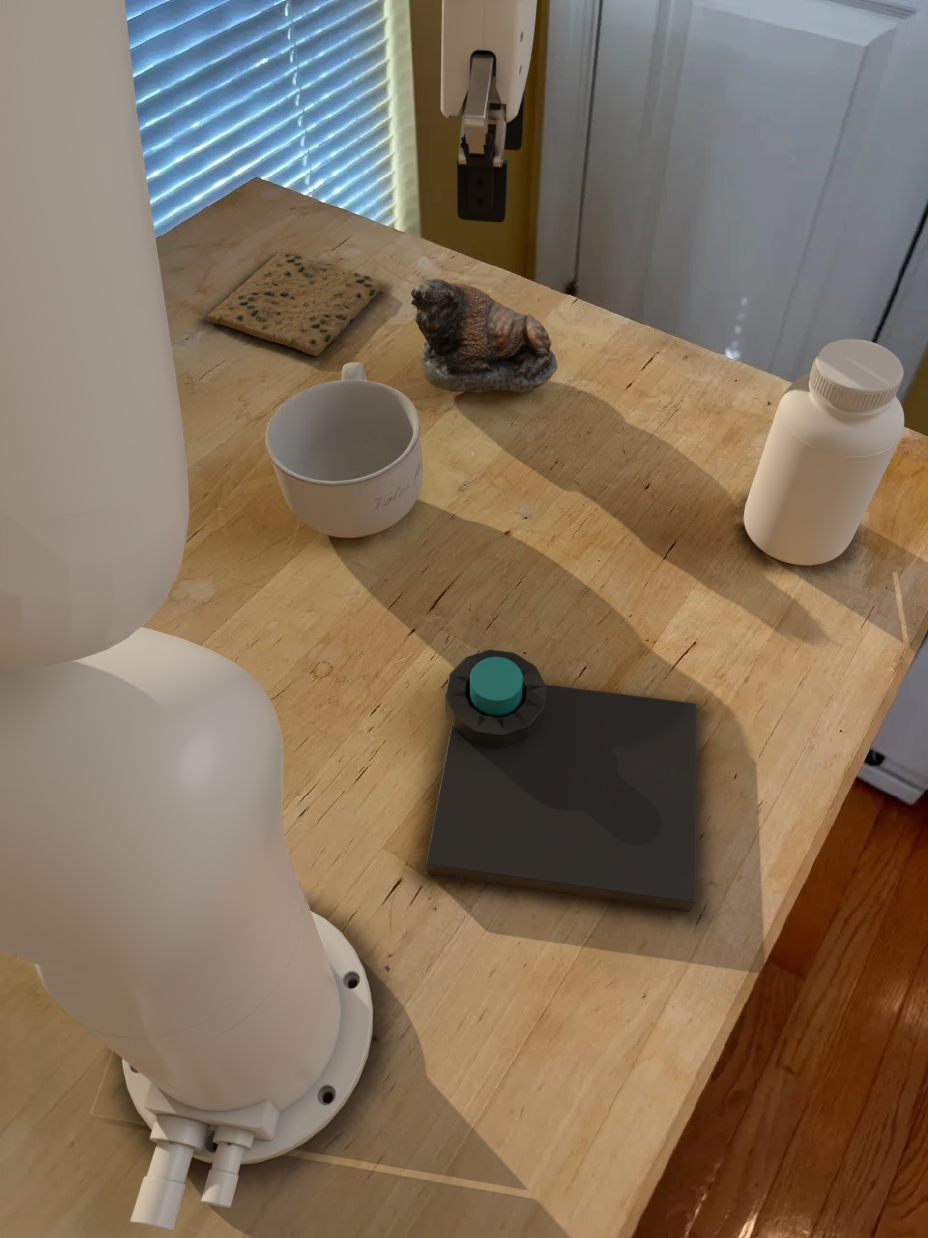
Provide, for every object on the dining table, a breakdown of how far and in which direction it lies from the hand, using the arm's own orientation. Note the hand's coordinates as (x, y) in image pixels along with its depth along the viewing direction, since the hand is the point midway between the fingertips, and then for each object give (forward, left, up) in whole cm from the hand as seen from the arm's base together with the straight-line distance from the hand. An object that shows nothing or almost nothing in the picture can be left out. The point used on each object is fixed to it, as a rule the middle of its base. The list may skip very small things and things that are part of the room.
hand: (491, 181), depth 66 cm
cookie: (+9, +19, -18) cm, 27 cm away
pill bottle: (-13, -25, -18) cm, 33 cm away
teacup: (-14, +8, -18) cm, 24 cm away
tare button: (-33, -5, -15) cm, 36 cm away
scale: (-37, -10, -18) cm, 42 cm away
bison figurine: (0, 0, -18) cm, 18 cm away
